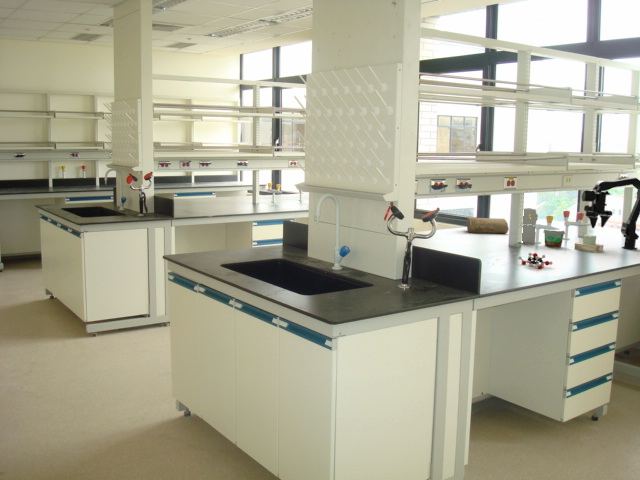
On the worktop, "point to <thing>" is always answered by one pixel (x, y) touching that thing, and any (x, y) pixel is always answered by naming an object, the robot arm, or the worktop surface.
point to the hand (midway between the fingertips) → (597, 227)
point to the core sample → (487, 225)
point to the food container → (553, 238)
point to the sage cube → (589, 239)
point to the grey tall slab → (529, 231)
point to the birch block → (588, 247)
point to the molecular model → (535, 258)
